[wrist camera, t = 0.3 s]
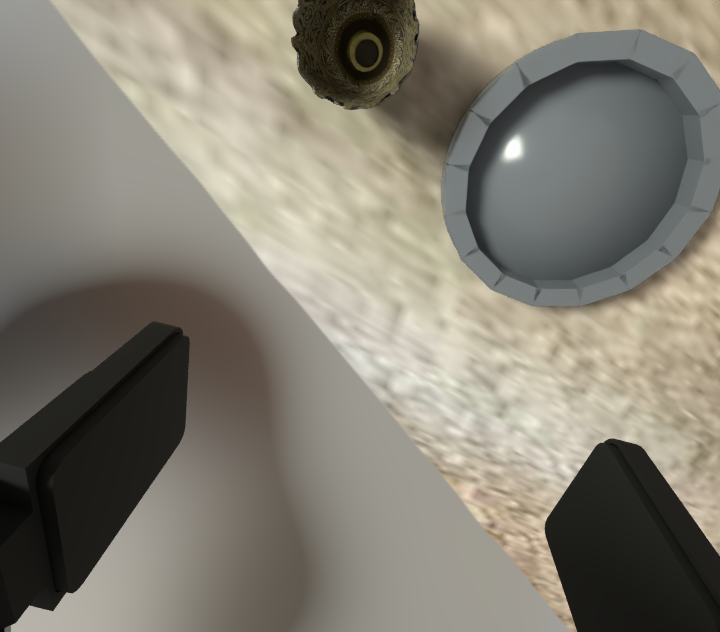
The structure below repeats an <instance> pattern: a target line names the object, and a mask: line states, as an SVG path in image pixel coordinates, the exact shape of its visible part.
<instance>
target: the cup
mask: <svg viewBox="0 0 720 632" xmlns="http://www.w3.org/2000/svg"><path fill="white" fill-rule="evenodd" d="M298 3H299V4H298V8H296V10H295V11H294V13H293V25H294V28H295V30H296V32H297V34H296V35H295V37H292V38H291V43H292V46H293V47H294V49H295V50H296V52H297V67H298V71H299V73H300V75H301V76H302V77H303V79H304V80H305V81H306V82H307V83H308V84H309V85H310V86H311V87H312V90H313V91H314V93H315V94H316V95H317V96H318V97H319V98H321V99H323V98H325V99H328V100H329V101H331V102H333V103H334V104H337V105H340V106H343V107H344V109H348V110H355V109H368V108H372V107H375V106H377V105H379V104H380V103H382V102H383V101H385V100H386V99H387V98H388V97H390V96H391V95H393V94H395V93H396V92H397V91H398V90H399V88H400V86H401V84H402V82H403V81H404V80H405V79H406V78H407V77H408V75H409V74H410V72H411V70H412V68H413V65H414V61H415V58H416V54H417V47H418V40H417V37H418V34H419V21H418V19H417V17H416V11H415V3H414V0H298ZM365 40H369V41H372V42H373V43H374V44H375V45H376V47H377V51H378V55H377V59H376V61H375V62H374V63H373V64H372V65H370V66H363V65H361V64H360V63H359V62H358V60H357V58H356V49H357V47H358V45H359V44H360V43H361V42H362V41H365Z"/></svg>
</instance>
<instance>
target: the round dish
mask: <svg viewBox="0 0 720 632" xmlns="http://www.w3.org/2000/svg"><path fill="white" fill-rule="evenodd" d="M719 190H720V90H719V88H718V87H717V85H716V84H715V83H714V81H713V80H712V78H711V77H710V75H709V74H708V72H707V71H706V69H705V68H704V66H703V65H702V63H701V62H700V60H699V59H698V58H697V56H696V55H695V54H694V53H693V52H690V51H688V50H686V49H684V48H682V47H679V46H677V45H675V44H673V43H670V42H668V41H666V40H664V39H662V38H659V37H657V36H655V35H653V34H650V33H648V32H646V31H644V30H640V29H638V30H622V31H606V32H589V33H577V34H574V35H572V36H570V37H568V38H565V39H562V40H558V41H555V42H553V43H550V44H548V45H546V46H543V47H541V48H539V49H536V50H534V51H533V52H531V53H529V54H527V55H526V56H524V57H522V58H520V59H519V60H517V61H516V62H514V63H513V64H512V65H510V66H509V67H508V68H506V69H505V70H503V71H502V72H501V73H500V74H499V75H498V76H496V77H495V78H494V79H493V80H492V81H491V82H490V83H489V84H488V85H487V86H486V87H485V88H484V89H483V90H482V92H481V93H480V94H479V95H478V96H477V98H476V99H475V100H474V101H473V102H472V104H471V105H470V107H469V108H468V110H467V111H466V113H465V114H464V116H463V117H462V119H461V121H460V123H459V125H458V127H457V129H456V131H455V133H454V135H453V137H452V140H451V143H450V145H449V148H448V151H447V154H446V158H445V163H444V167H443V173H442V182H441V202H442V209H443V215H444V219H445V223H446V226H447V230H448V233H449V235H450V237H451V239H452V241H453V244H454V246H455V247H456V249H457V251H458V253H459V256H460V259H461V260H462V261H463V262H464V263H465V264H466V265H467V266H468V267H469V268H470V269H471V270H472V271H473V272H474V273H475V274H476V275H477V276H478V277H479V278H480V279H481V280H482V281H483V282H484V283H485V284H486V285H487V286H488V287H489V288H490V289H492V290H493V291H496V292H498V293H501V294H503V295H506V296H508V297H511V298H513V299H516V300H518V301H521V302H524V303H526V304H529V305H531V306H532V305H533V306H583V305H586V304H589V303H592V302H595V301H598V300H601V299H605V298H608V297H611V296H614V295H617V294H620V293H623V292H626V291H629V290H631V289H632V288H634V287H635V286H637V285H638V284H640V283H641V282H643V281H644V280H645V279H647V278H648V277H650V276H651V275H653V274H654V273H655V272H657V271H658V270H660V269H661V268H663V267H664V266H666V265H667V264H668V263H670V262H671V261H673V260H674V259H675V258H676V257H677V256H678V255H679V254H680V252H681V251H682V250H683V249H684V247H685V246H686V245H687V243H688V242H689V241H690V240H691V238H692V237H693V236H694V235H695V233H696V232H697V231H698V229H699V228H700V227H701V226H702V224H703V223H704V222H705V220H706V219H707V218H708V217H709V215H710V214H711V212H712V211H713V208H714V205H715V202H716V199H717V196H718V193H719ZM674 257H675V258H674Z"/></svg>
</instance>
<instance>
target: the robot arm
mask: <svg viewBox="0 0 720 632" xmlns="http://www.w3.org/2000/svg"><path fill="white" fill-rule="evenodd" d="M189 344H190V343H189V337H187V336H184V335H183V331H182V329H181V328H179V327H175V326H172V325H168V324H164V323H160V322H152V323H150V324H149V325H147V326H146V327H145V328H144V329H143V330H141V331H140V332H139V333H138V334H137V335H135V336H134V337H133V338H132V339H130V340H129V341H128V342H127V343H125V344H124V345H123V346H122V347H121V348H119V349H118V350H117V351H116V352H114V353H113V354H112V355H111V356H110V357H108V358H107V359H106V360H105V361H103V362H102V363H101V364H100V365H99V366H97V367H96V368H95V369H94V370H93V371H90V372H88V373H86V374H85V375H83V376H82V377H81V378H80V379H78V380H77V381H76V382H75V383H74V384H72V385H71V386H70V387H68V388H67V389H66V390H65V391H63V392H62V393H61V394H60V395H58V396H57V397H56V398H55V399H53V400H52V401H51V402H50V403H49V404H47V405H46V406H45V407H44V408H42V409H41V410H40V411H39V412H37V413H36V414H35V415H34V416H32V417H31V418H30V419H29V420H28V421H26V422H25V423H24V424H23V425H21V426H20V427H19V428H18V429H17V430H15V431H14V432H13V433H12V434H10V435H9V436H8V437H6V438H5V439H4V440H3V441H2V442H0V632H11V625H12V624H14V623H16V622H17V621H18V619H19V618H20V617H21V615H22V614H23V613H24V611H25V610H26V609H27V608H28V606H29V605H30V606H34V607H38V608H42V609H46V610H50V611H53V610H54V609H55V607H56V606H57V605H58V603H59V602H60V601H61V599H62V598H63V596H64V595H65V594H66V592H68V593H74V592H75V591H77V590H78V589H79V588H80V586H81V585H82V584H83V583H84V581H85V580H86V578H87V577H88V575H89V574H90V572H91V571H92V569H93V568H94V567H95V565H96V564H97V562H98V561H99V559H100V558H101V556H102V555H103V554H104V552H105V551H106V549H107V548H108V546H109V545H110V543H111V542H112V540H113V539H114V538H115V536H116V535H117V533H118V532H119V530H120V529H121V527H122V526H123V525H124V523H125V522H126V520H127V518H128V517H129V516H130V514H131V513H132V511H133V510H134V509H135V507H136V505H137V504H138V503H139V501H140V500H141V498H142V497H143V495H144V494H145V492H146V491H147V489H148V488H149V487H150V485H151V484H152V482H153V481H154V480H155V478H156V477H157V475H158V474H159V472H160V471H161V469H162V468H163V466H164V465H165V464H166V462H167V461H168V459H169V458H170V456H171V455H172V453H173V452H174V450H175V449H176V448H177V446H178V445H179V443H180V441H181V439H182V437H183V434H184V430H185V421H186V401H187V381H188V362H189ZM545 535H546V538H547V541H548V544H549V547H550V550H551V554H552V557H553V560H554V563H555V566H556V569H557V572H558V575H559V578H560V581H561V584H562V587H563V590H564V593H565V596H566V599H567V602H568V605H569V608H570V611H571V614H572V617H573V620H574V623H575V626H576V629H577V632H720V556H719V555H718V553H717V552H716V550H715V549H714V548H713V546H712V545H711V543H710V542H709V541H708V539H707V538H706V536H705V535H704V533H703V532H702V531H701V529H700V528H699V526H698V525H697V524H696V522H695V521H694V519H693V518H692V517H691V515H690V514H689V512H688V511H687V509H686V508H685V507H684V505H683V504H682V502H681V501H680V500H679V498H678V497H677V495H676V494H675V493H674V491H673V490H672V488H671V487H670V486H669V484H668V483H667V481H666V480H665V478H664V477H663V476H662V474H661V473H660V471H659V470H658V469H657V467H656V466H655V464H654V463H653V462H652V460H651V459H650V457H649V456H648V454H647V453H646V452H645V450H644V449H643V448H642V447H641V446H639V445H637V444H633V443H629V442H625V441H621V440H617V439H608V440H606V441H605V442H604V443H599V444H598V445H597V446H596V447H595V448H594V450H593V451H592V453H591V454H590V456H589V457H588V459H587V460H586V462H585V463H584V465H583V466H582V468H581V469H580V471H579V472H578V474H577V475H576V477H575V478H574V480H573V481H572V482H571V484H570V485H569V487H568V488H567V490H566V491H565V493H564V494H563V496H562V497H561V499H560V500H559V502H558V503H557V505H556V506H555V508H554V509H553V511H552V512H551V514H550V515H549V517H548V518H547V520H546V523H545Z"/></svg>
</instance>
